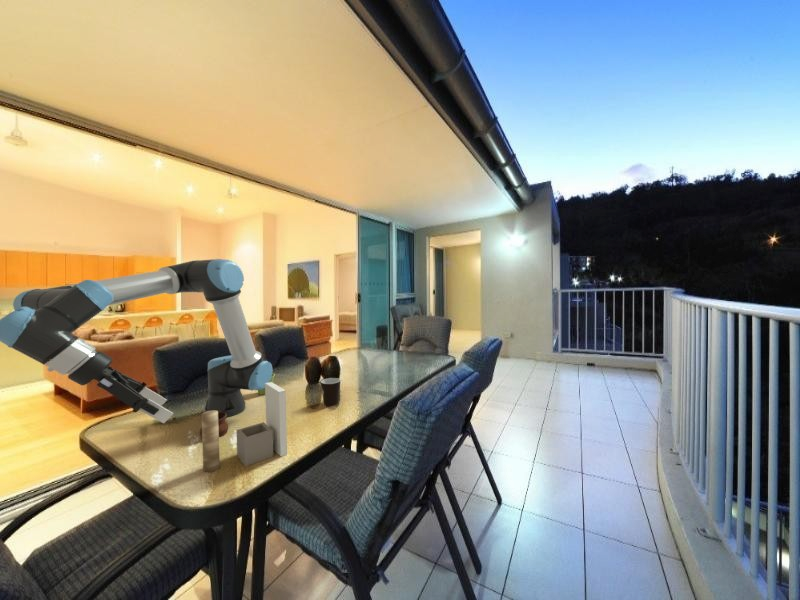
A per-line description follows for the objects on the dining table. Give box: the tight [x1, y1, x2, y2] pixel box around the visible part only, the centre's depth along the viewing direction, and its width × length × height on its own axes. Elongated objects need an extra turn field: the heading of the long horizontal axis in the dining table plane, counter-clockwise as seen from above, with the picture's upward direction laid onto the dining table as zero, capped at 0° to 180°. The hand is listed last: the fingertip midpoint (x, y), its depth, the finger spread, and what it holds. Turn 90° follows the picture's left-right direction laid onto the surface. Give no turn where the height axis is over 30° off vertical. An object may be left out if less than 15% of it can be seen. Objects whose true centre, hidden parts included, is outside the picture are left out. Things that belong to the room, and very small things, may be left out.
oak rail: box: [200, 410, 221, 473], centre depth 87 cm, size 4×4×16 cm
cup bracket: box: [236, 382, 288, 467], centre depth 95 cm, size 12×12×20 cm
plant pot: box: [257, 373, 276, 396], centre depth 152 cm, size 9×9×9 cm
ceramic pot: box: [199, 412, 229, 438], centre depth 109 cm, size 18×18×7 cm
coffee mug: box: [320, 377, 342, 407], centre depth 139 cm, size 12×9×10 cm
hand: (165, 410), depth 81 cm, fingers open, 13 cm apart
